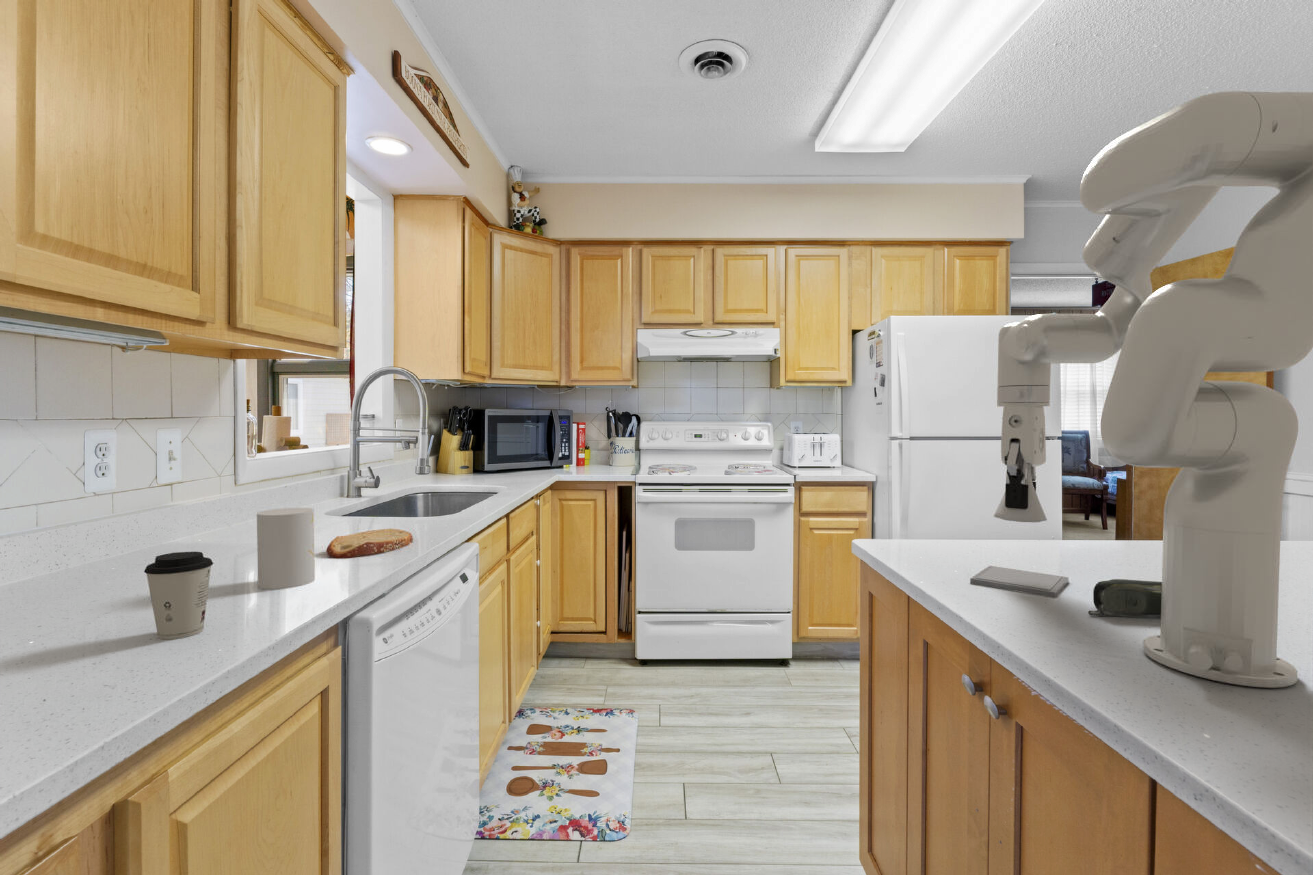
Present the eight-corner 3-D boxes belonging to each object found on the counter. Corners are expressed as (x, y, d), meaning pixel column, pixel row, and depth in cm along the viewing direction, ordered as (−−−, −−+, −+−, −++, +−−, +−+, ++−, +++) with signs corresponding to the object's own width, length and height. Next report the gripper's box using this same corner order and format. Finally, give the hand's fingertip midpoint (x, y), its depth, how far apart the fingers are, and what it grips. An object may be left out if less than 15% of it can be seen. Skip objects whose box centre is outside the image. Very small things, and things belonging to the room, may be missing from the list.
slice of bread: (407, 537, 142) (407, 521, 142) (425, 551, 127) (425, 533, 127) (320, 545, 132) (320, 528, 132) (328, 562, 117) (328, 543, 117)
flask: (985, 517, 104) (986, 459, 103) (1017, 515, 106) (1019, 458, 105) (1021, 524, 97) (1023, 462, 96) (1056, 522, 99) (1057, 461, 99)
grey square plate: (1055, 597, 93) (1055, 591, 93) (970, 583, 101) (970, 577, 101) (1068, 582, 102) (1068, 576, 102) (989, 569, 110) (989, 565, 110)
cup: (324, 580, 103) (323, 510, 102) (273, 591, 96) (272, 516, 96) (299, 573, 107) (297, 506, 107) (248, 584, 100) (247, 512, 100)
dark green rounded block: (1189, 580, 86) (1081, 576, 86) (1207, 586, 83) (1095, 582, 83) (1187, 615, 86) (1079, 611, 86) (1205, 622, 83) (1093, 618, 83)
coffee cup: (227, 626, 80) (226, 551, 80) (173, 645, 73) (171, 563, 73) (188, 621, 82) (186, 548, 82) (131, 639, 75) (129, 559, 75)
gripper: (1038, 396, 92) (1035, 515, 92) (1059, 398, 104) (1056, 503, 105) (984, 397, 97) (981, 509, 97) (1009, 399, 109) (1007, 499, 110)
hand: (1020, 505), depth 101 cm, fingers closed on flask, 5 cm apart
